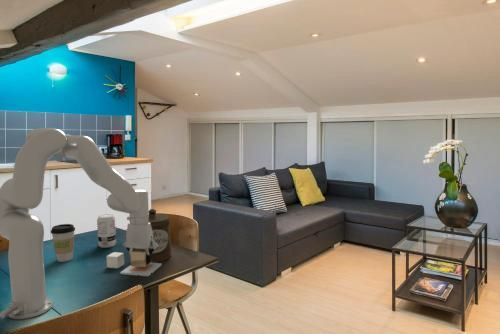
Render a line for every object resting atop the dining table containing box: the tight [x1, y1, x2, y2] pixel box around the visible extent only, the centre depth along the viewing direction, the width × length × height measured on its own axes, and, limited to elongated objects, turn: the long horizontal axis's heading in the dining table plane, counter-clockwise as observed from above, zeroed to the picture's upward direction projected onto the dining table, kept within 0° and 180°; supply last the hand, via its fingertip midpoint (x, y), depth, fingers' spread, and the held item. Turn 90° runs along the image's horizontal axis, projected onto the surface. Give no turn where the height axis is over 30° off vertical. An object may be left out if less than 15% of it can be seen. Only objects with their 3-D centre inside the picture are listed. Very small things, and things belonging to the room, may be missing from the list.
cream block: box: [106, 251, 125, 269], centre depth 158 cm, size 5×5×5 cm
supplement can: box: [96, 213, 117, 249], centre depth 184 cm, size 8×8×15 cm
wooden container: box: [149, 208, 172, 263], centre depth 167 cm, size 15×15×22 cm
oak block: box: [129, 249, 153, 267], centre depth 153 cm, size 6×6×6 cm
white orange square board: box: [120, 262, 163, 277], centre depth 153 cm, size 12×12×1 cm
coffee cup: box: [50, 223, 76, 262], centre depth 166 cm, size 10×10×15 cm
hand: (141, 262), depth 153 cm, fingers closed on oak block, 5 cm apart
